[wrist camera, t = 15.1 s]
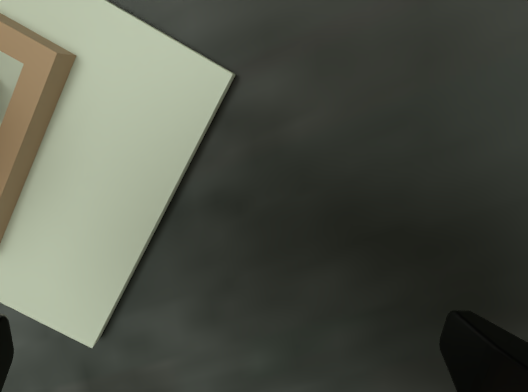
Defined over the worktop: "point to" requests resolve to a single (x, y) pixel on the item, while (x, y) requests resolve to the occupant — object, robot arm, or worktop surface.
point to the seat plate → (90, 152)
